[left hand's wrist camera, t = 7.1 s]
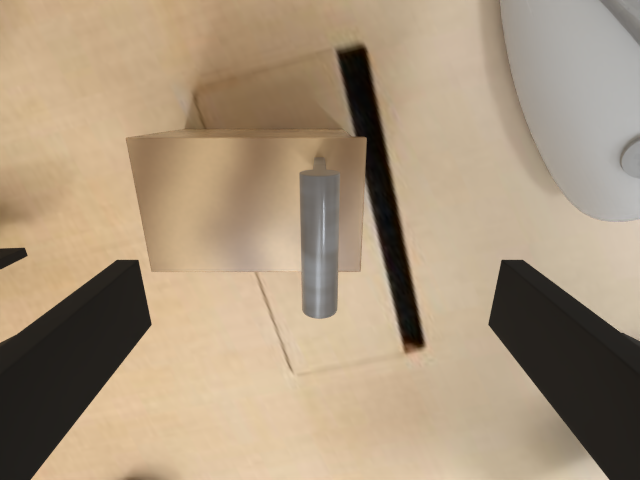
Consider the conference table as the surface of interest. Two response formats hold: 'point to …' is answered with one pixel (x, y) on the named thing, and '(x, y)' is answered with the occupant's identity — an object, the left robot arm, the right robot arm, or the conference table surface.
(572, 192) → the projector
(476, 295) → the conference table surface
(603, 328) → the left robot arm
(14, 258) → the right robot arm
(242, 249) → the lid
